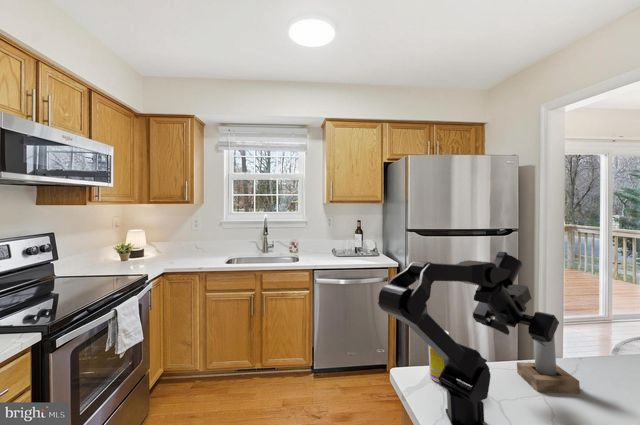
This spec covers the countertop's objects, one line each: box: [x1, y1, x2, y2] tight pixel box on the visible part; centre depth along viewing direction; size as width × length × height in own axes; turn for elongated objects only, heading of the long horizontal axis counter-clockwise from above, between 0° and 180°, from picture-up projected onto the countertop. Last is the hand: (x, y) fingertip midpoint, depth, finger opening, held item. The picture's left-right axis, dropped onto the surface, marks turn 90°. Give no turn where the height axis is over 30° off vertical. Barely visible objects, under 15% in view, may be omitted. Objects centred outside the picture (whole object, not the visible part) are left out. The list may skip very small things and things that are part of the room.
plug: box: [533, 335, 557, 376], centre depth 83 cm, size 5×5×14 cm
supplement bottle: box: [427, 330, 450, 384], centre depth 87 cm, size 7×7×13 cm
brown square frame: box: [516, 361, 581, 394], centre depth 83 cm, size 10×10×3 cm
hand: (526, 338), depth 80 cm, fingers open, 9 cm apart
